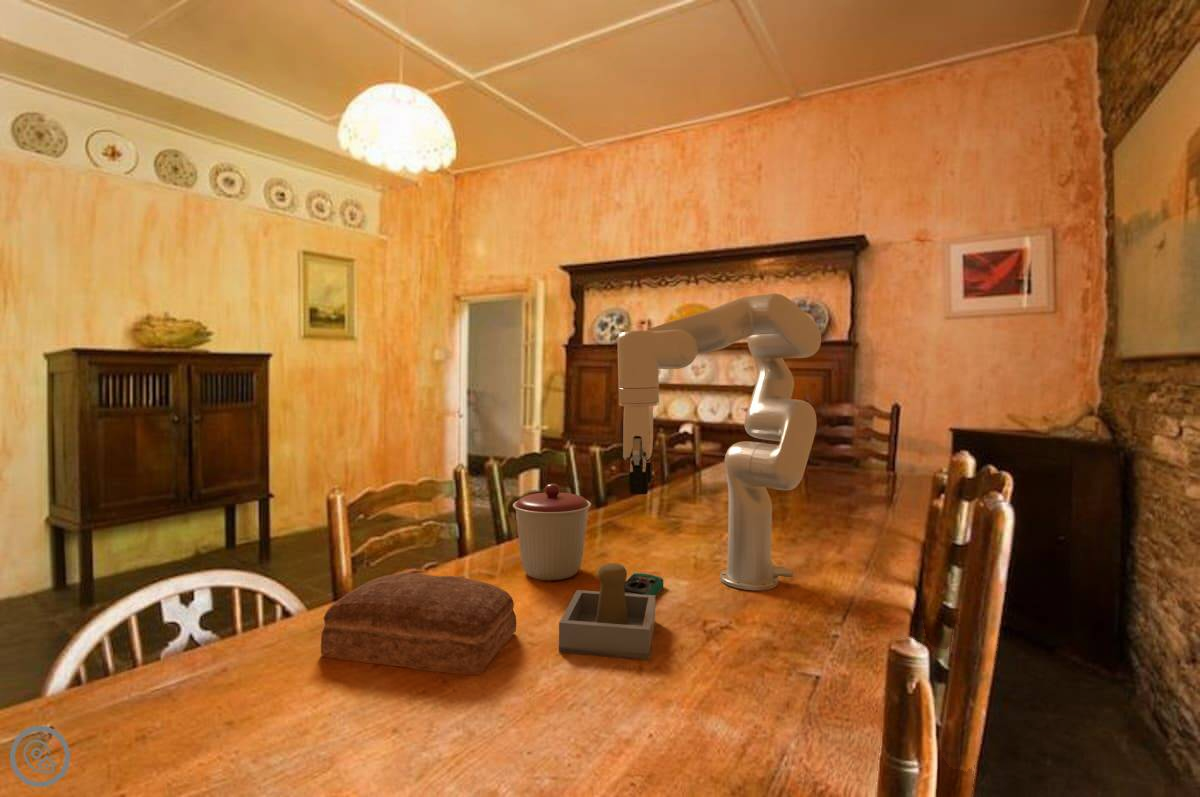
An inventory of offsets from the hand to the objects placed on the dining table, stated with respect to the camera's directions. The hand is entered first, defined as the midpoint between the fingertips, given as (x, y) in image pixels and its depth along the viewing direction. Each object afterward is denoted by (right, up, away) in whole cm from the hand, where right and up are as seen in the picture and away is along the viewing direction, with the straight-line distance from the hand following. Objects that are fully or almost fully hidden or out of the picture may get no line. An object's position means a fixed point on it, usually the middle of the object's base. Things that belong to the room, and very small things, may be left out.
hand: (640, 488), depth 109 cm
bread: (-38, -26, -10) cm, 47 cm away
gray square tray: (-6, -25, -6) cm, 27 cm away
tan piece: (-6, -24, -4) cm, 25 cm away
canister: (-19, -24, +26) cm, 40 cm away
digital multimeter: (0, -25, +13) cm, 28 cm away
